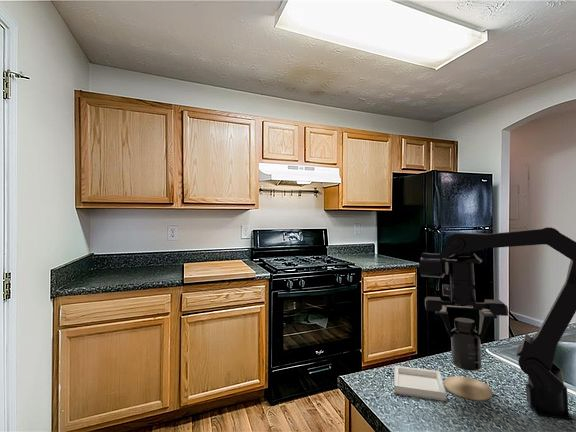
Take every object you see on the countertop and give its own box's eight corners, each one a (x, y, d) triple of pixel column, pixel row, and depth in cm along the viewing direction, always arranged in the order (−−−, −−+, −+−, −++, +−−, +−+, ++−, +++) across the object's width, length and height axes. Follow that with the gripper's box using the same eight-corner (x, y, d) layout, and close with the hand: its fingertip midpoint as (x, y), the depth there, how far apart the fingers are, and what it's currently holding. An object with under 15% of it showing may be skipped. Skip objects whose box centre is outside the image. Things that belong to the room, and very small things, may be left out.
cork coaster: (485, 381, 83) (485, 379, 83) (498, 403, 73) (498, 401, 73) (441, 376, 87) (441, 374, 87) (447, 396, 77) (446, 393, 77)
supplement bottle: (446, 362, 83) (444, 317, 84) (466, 358, 85) (463, 315, 85) (467, 373, 76) (464, 325, 77) (488, 369, 78) (485, 322, 79)
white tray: (439, 378, 86) (439, 371, 86) (446, 401, 74) (445, 392, 75) (395, 372, 90) (394, 365, 90) (394, 393, 79) (394, 385, 79)
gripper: (494, 275, 86) (498, 331, 85) (422, 274, 93) (425, 326, 92) (506, 282, 75) (510, 346, 75) (424, 280, 82) (427, 338, 81)
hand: (465, 338), depth 81 cm, fingers closed on supplement bottle, 7 cm apart
